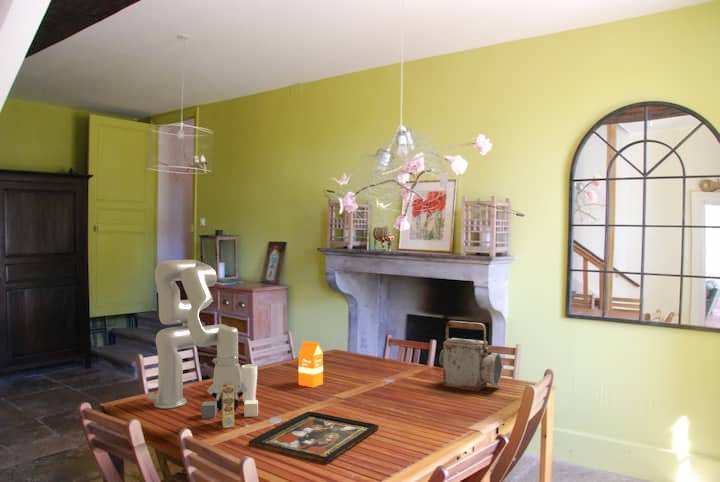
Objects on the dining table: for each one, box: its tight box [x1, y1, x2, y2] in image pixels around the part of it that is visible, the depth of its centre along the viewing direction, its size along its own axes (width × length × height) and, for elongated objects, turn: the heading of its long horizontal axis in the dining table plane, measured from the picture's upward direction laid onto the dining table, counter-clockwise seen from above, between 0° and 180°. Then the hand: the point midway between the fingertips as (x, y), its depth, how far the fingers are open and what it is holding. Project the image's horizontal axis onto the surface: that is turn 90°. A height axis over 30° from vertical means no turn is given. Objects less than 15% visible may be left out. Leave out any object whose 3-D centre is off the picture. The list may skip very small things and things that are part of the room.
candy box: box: [220, 385, 235, 429], centre depth 201 cm, size 9×4×15 cm, turn 20°
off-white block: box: [243, 399, 259, 418], centre depth 212 cm, size 5×5×5 cm
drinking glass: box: [240, 363, 258, 403], centre depth 228 cm, size 7×7×15 cm
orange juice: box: [298, 340, 324, 388], centre depth 256 cm, size 8×9×20 cm
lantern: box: [438, 320, 503, 392], centre depth 254 cm, size 16×27×30 cm, turn 60°
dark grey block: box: [201, 400, 218, 419], centre depth 210 cm, size 5×5×5 cm
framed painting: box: [248, 411, 380, 465], centre depth 188 cm, size 38×35×3 cm
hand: (227, 409), depth 201 cm, fingers closed on candy box, 4 cm apart
